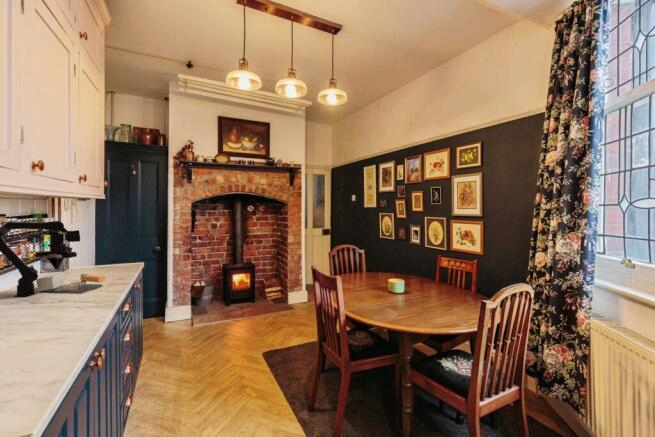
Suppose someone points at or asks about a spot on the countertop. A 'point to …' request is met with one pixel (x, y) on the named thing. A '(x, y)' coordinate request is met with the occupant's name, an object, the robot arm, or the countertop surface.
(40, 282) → the supplement box
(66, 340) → the countertop surface
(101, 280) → the swing arm
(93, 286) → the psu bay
